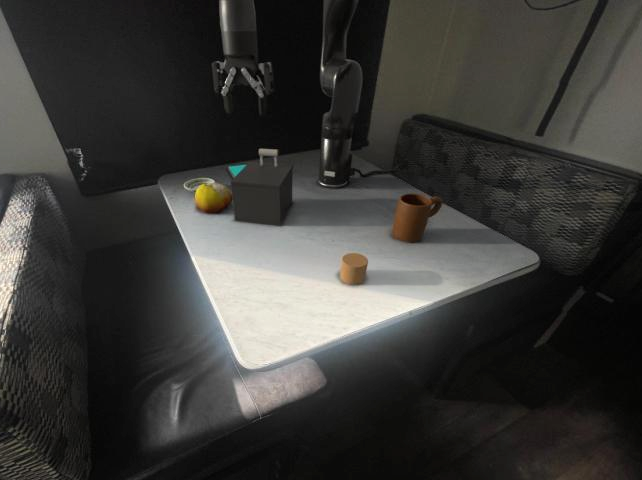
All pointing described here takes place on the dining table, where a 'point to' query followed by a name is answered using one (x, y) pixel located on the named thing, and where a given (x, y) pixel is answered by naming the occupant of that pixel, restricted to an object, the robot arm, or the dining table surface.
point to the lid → (263, 172)
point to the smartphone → (235, 169)
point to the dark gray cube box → (262, 203)
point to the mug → (413, 216)
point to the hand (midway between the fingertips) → (245, 114)
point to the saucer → (196, 183)
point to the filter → (353, 268)
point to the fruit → (212, 198)
